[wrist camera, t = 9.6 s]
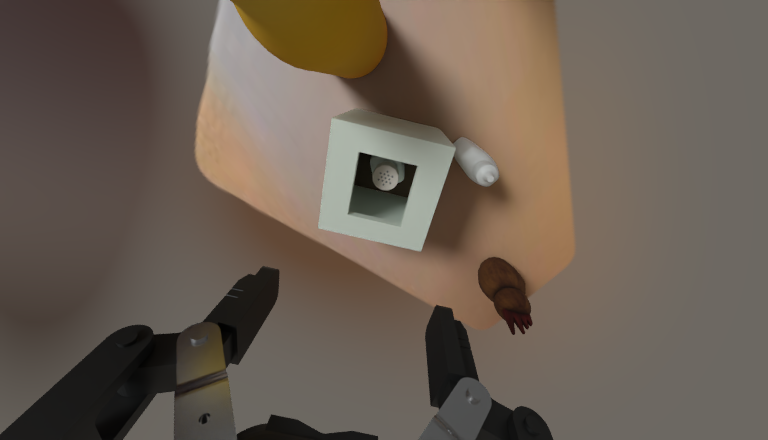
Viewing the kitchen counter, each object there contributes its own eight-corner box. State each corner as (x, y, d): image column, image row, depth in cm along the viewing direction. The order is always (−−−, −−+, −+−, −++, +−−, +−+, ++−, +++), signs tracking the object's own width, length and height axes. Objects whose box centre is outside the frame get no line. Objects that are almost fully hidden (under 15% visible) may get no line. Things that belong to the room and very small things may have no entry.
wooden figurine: (467, 268, 48) (491, 338, 35) (490, 245, 46) (525, 311, 32) (495, 286, 49) (529, 360, 36) (519, 265, 47) (565, 336, 34)
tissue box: (356, 108, 38) (331, 117, 25) (439, 128, 38) (456, 148, 26) (343, 187, 43) (318, 228, 30) (416, 204, 43) (420, 251, 31)
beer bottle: (322, 81, 36) (118, 64, 11) (309, -5, 32) (-75, -377, 6) (390, 75, 36) (350, 41, 10) (385, -14, 32) (294, -486, 6)
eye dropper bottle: (479, 130, 38) (509, 147, 27) (485, 168, 40) (515, 197, 29) (448, 139, 39) (465, 159, 28) (456, 176, 41) (474, 207, 30)
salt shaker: (399, 143, 39) (398, 158, 31) (405, 169, 41) (405, 190, 32) (373, 149, 40) (364, 165, 31) (379, 174, 42) (373, 196, 33)
